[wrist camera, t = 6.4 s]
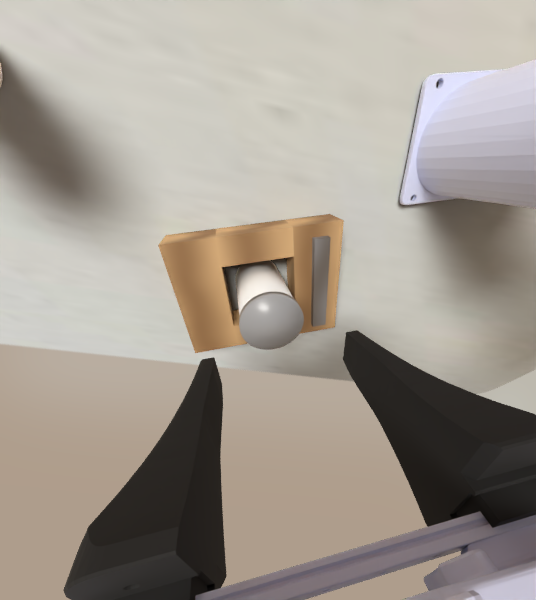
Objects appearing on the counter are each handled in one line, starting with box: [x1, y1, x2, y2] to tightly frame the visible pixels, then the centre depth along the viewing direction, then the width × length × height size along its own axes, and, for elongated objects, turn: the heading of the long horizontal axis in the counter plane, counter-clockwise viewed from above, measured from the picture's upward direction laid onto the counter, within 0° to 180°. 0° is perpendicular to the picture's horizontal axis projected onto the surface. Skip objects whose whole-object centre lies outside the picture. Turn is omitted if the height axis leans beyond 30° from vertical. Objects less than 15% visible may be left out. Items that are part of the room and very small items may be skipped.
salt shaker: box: [235, 260, 304, 349], centre depth 18 cm, size 4×4×7 cm
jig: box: [158, 214, 344, 353], centre depth 19 cm, size 13×10×3 cm
